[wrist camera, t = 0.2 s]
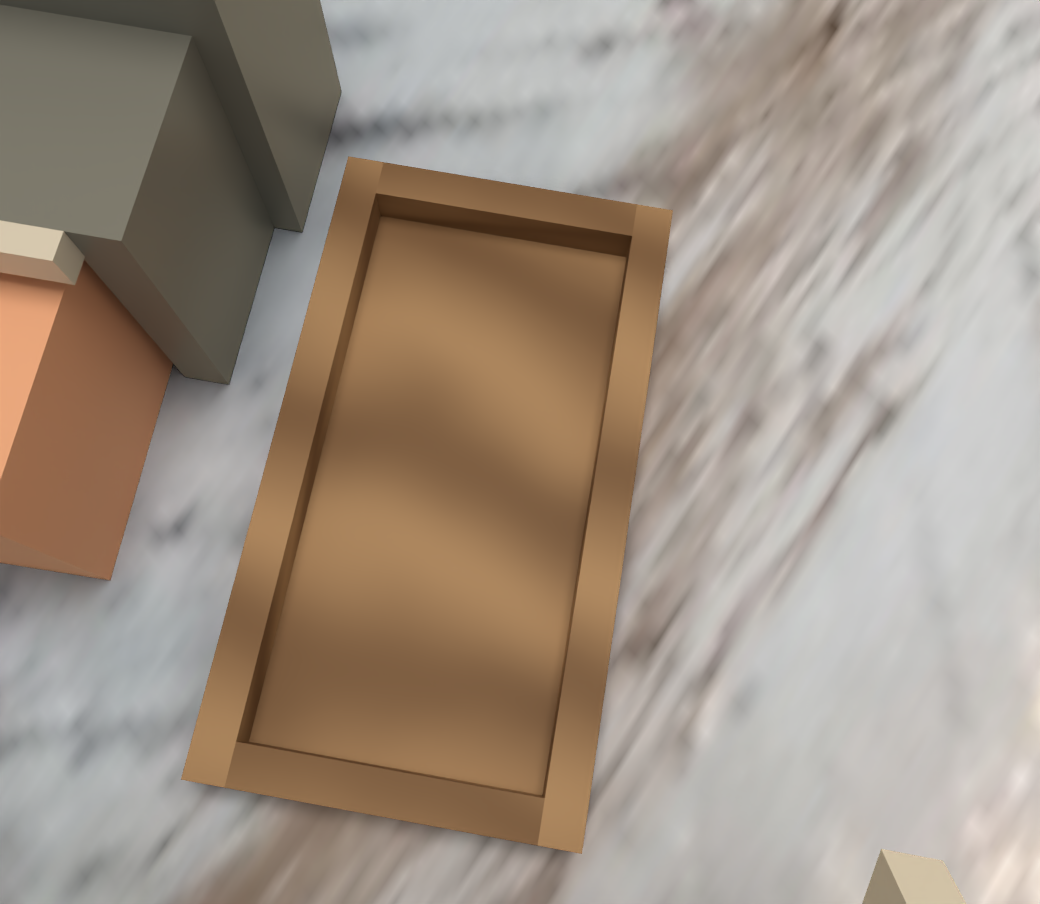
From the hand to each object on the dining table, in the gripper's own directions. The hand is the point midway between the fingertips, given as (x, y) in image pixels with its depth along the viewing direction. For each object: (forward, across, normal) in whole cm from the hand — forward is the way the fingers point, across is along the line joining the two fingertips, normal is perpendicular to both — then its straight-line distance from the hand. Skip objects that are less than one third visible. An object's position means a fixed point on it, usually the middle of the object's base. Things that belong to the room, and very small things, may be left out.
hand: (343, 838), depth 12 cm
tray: (+18, +1, +2) cm, 18 cm away
